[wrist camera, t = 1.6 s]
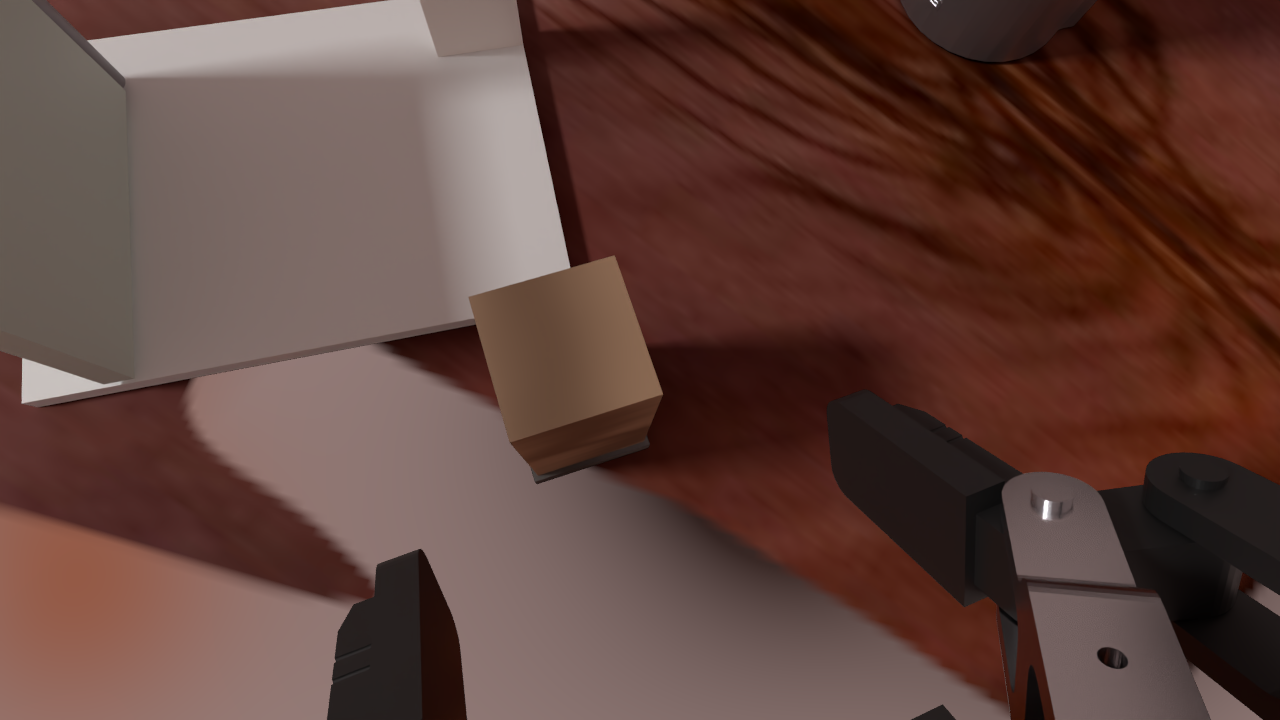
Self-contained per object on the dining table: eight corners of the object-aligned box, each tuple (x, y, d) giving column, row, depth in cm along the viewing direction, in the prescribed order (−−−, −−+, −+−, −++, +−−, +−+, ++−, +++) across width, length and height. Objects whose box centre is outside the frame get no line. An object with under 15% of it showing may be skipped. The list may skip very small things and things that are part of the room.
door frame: (512, -4, 35) (447, -410, 20) (577, 305, 31) (556, 77, 16) (40, 60, 33) (-433, -351, 18) (37, 407, 28) (-595, 249, 13)
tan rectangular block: (613, 342, 30) (618, 248, 21) (648, 447, 29) (671, 398, 20) (505, 375, 30) (459, 292, 20) (536, 484, 29) (504, 451, 19)
